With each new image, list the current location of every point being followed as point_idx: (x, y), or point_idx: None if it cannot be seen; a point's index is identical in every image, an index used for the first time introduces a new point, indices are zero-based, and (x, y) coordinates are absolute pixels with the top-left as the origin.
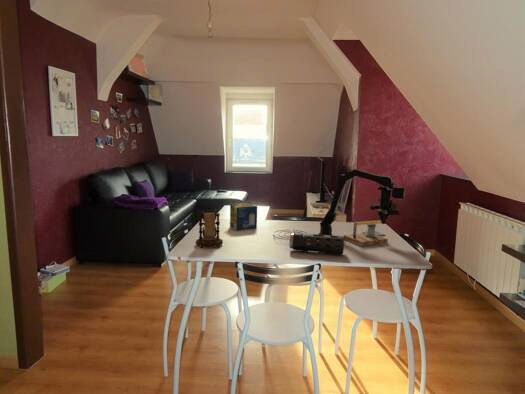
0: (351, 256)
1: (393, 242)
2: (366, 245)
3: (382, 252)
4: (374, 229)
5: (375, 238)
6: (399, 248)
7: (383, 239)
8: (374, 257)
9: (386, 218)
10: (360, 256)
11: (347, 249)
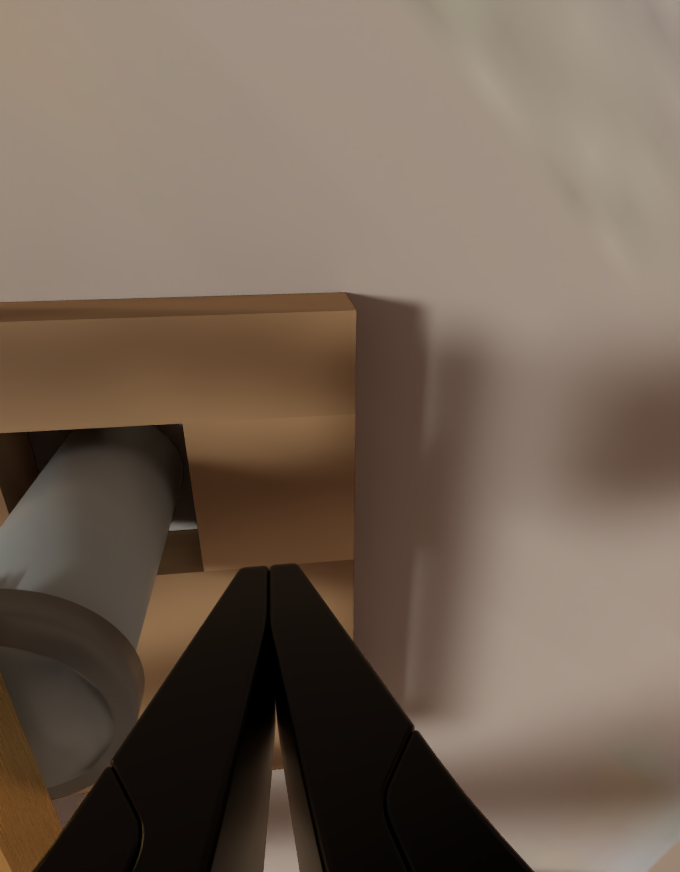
0: (554, 852)
1: (329, 118)
2: None
3: (624, 610)
4: (128, 592)
5: (242, 501)
6: (641, 304)
7: (344, 408)
8: (676, 735)
9: (436, 785)
10: (592, 806)
11: None
